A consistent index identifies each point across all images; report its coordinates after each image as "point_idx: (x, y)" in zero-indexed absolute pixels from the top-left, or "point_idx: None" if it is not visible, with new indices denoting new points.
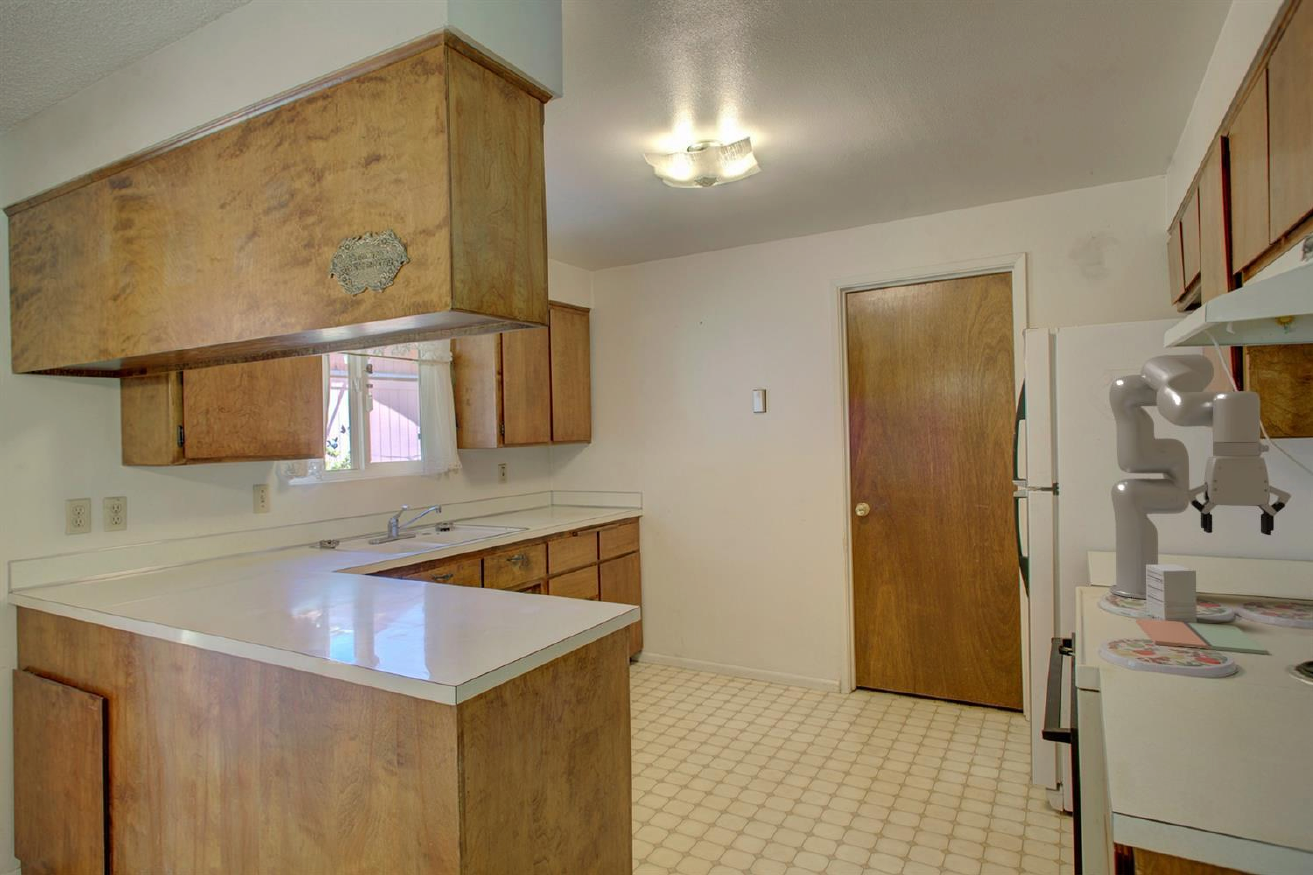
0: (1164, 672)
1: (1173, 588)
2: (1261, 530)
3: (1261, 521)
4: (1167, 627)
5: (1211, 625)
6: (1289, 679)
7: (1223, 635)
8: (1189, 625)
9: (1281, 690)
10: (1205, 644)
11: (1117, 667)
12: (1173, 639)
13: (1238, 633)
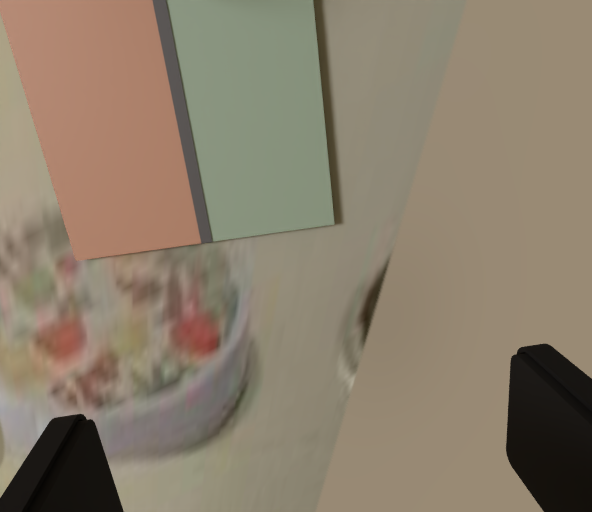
0: (111, 458)
1: None
2: (521, 377)
3: (586, 439)
4: (100, 76)
5: None
6: (331, 390)
7: (253, 106)
8: (165, 15)
9: (301, 458)
10: (197, 235)
11: None
12: (120, 223)
13: (298, 56)
